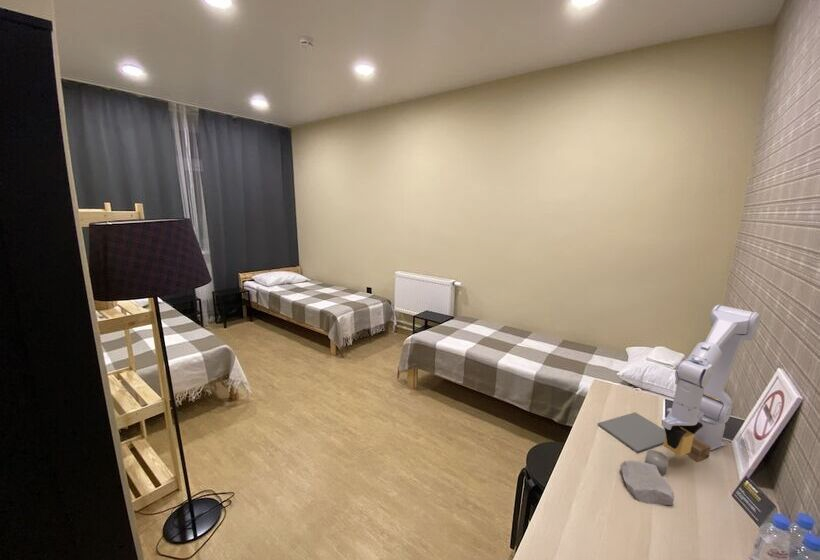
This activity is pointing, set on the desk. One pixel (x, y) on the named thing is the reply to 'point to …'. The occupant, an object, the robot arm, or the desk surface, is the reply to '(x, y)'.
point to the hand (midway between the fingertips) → (677, 444)
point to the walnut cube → (699, 450)
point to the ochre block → (682, 444)
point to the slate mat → (635, 432)
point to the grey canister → (657, 460)
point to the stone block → (646, 483)
